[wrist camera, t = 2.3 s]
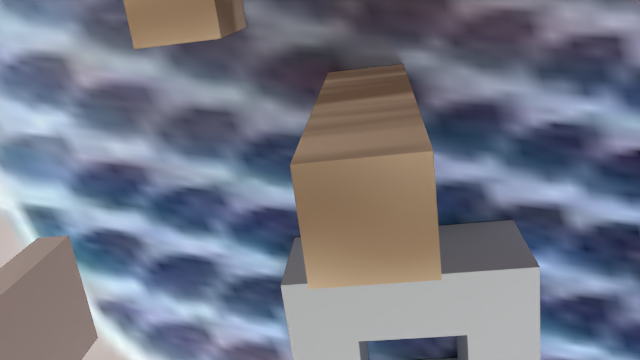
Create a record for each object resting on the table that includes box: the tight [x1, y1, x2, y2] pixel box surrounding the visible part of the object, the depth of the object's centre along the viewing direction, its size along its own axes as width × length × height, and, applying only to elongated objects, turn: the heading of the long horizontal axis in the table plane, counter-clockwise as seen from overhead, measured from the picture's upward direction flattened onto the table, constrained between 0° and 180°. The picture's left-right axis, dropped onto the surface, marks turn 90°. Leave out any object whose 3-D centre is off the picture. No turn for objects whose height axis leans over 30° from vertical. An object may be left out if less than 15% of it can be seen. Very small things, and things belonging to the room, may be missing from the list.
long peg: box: [290, 64, 442, 289], centre depth 22 cm, size 4×4×14 cm
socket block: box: [281, 220, 540, 360], centre depth 30 cm, size 11×11×5 cm
